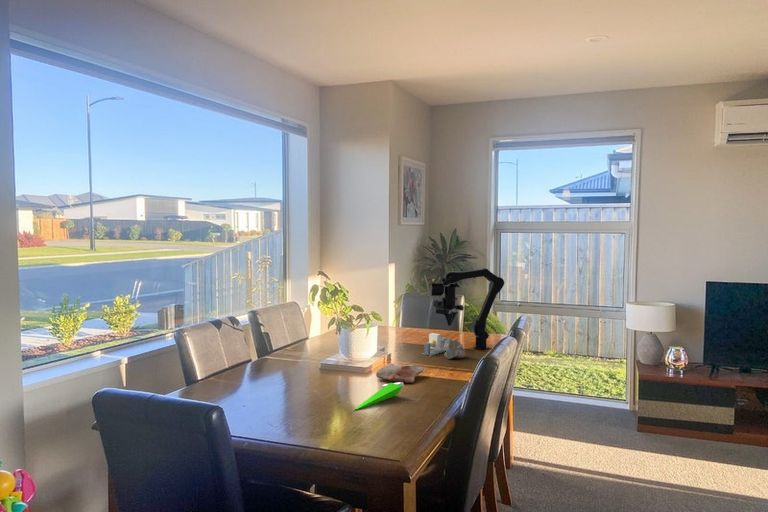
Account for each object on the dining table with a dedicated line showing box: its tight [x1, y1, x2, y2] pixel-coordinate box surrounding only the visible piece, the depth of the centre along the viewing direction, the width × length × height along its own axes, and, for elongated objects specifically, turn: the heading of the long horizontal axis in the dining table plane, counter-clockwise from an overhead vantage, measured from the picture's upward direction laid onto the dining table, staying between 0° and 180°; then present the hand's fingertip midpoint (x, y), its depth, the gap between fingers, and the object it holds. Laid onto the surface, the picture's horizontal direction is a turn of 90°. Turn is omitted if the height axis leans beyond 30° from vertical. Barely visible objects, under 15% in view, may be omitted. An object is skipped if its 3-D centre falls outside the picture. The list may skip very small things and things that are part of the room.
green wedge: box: [354, 382, 405, 410], centre depth 206 cm, size 11×5×25 cm
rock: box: [443, 338, 465, 360], centre depth 274 cm, size 9×12×10 cm
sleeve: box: [428, 332, 442, 350], centre depth 286 cm, size 3×5×7 cm, turn 52°
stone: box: [375, 363, 425, 384], centre depth 237 cm, size 20×6×15 cm
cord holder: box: [421, 336, 452, 357], centre depth 288 cm, size 19×6×7 cm, turn 142°
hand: (449, 325), depth 293 cm, fingers closed
